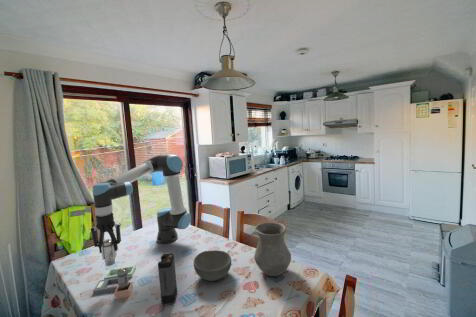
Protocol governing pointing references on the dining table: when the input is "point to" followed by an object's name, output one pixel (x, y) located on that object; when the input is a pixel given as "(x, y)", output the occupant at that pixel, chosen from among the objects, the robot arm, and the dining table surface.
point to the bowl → (212, 264)
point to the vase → (272, 249)
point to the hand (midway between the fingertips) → (109, 257)
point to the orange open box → (123, 292)
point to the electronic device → (167, 279)
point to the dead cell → (123, 279)
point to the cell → (108, 252)
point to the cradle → (105, 286)
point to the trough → (113, 272)
